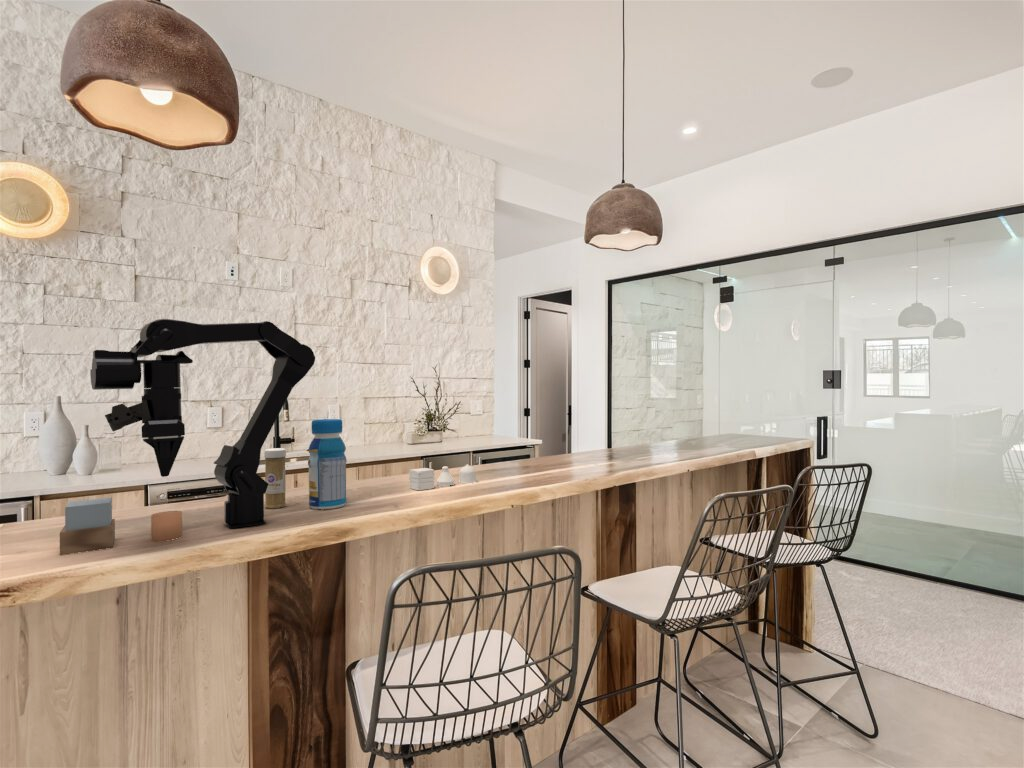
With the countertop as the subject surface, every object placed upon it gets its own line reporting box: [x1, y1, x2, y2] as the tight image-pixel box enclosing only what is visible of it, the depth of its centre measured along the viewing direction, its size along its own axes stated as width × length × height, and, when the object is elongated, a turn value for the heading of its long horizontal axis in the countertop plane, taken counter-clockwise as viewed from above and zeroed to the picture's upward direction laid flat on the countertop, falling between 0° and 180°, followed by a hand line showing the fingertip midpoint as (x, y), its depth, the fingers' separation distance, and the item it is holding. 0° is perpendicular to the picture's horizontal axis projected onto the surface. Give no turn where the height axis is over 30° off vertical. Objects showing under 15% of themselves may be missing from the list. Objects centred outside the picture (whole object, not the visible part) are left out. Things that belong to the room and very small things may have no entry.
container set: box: [408, 463, 478, 491], centre depth 152 cm, size 20×5×6 cm, turn 129°
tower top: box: [64, 497, 113, 531], centre depth 95 cm, size 6×6×4 cm
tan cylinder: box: [150, 510, 183, 542], centre depth 100 cm, size 5×5×4 cm
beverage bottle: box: [307, 418, 348, 511], centre depth 125 cm, size 8×8×20 cm
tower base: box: [59, 518, 116, 556], centre depth 95 cm, size 7×7×4 cm
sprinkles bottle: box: [264, 447, 287, 509], centre depth 126 cm, size 5×5×13 cm
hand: (164, 473), depth 100 cm, fingers open, 9 cm apart
